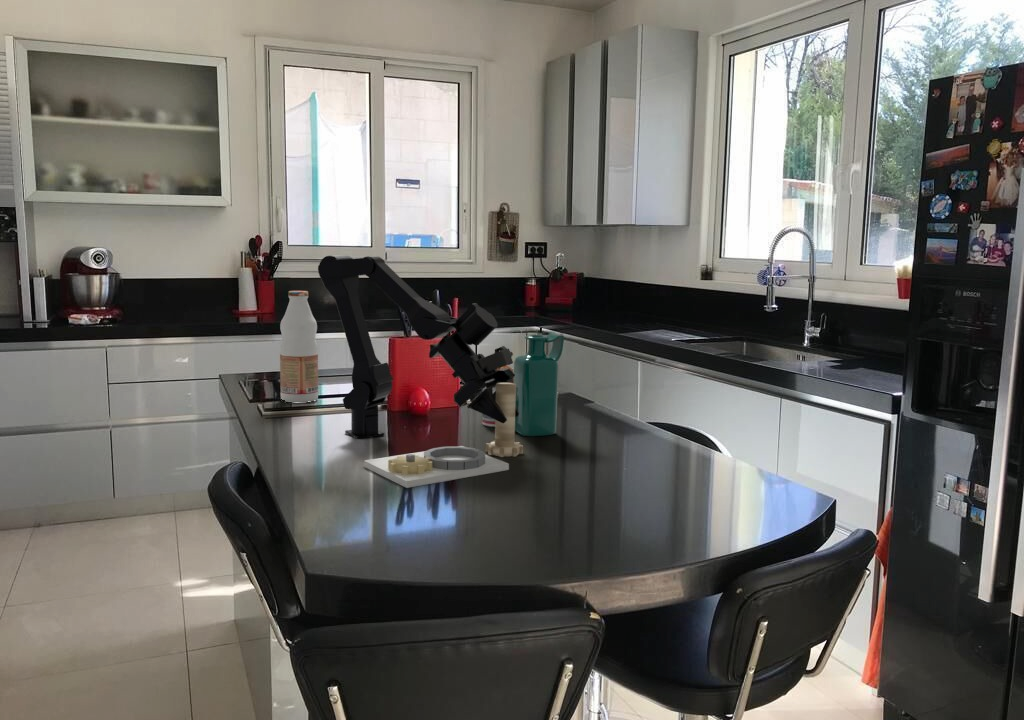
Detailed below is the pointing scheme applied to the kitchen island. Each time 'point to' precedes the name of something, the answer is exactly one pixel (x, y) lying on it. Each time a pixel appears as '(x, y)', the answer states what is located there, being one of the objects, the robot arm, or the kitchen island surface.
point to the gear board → (435, 473)
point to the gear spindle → (505, 431)
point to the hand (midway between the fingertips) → (511, 418)
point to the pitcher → (537, 386)
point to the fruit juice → (298, 351)
